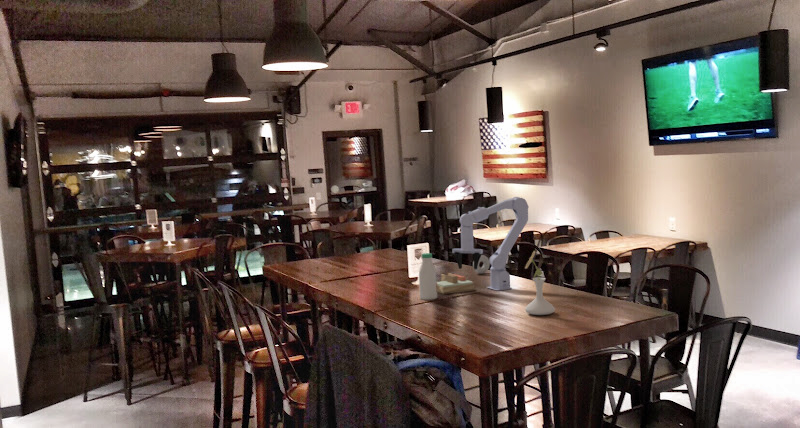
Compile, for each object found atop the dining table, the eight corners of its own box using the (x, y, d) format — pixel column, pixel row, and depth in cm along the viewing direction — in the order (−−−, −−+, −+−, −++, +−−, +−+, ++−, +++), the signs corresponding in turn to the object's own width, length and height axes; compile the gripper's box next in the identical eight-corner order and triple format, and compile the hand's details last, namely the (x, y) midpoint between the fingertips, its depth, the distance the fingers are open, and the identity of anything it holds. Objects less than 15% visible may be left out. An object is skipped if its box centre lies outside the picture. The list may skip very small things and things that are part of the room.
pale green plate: (473, 283, 316) (472, 275, 315) (443, 287, 309) (443, 278, 309) (462, 280, 325) (461, 272, 325) (433, 284, 319) (433, 275, 319)
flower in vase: (534, 309, 270) (532, 247, 268) (560, 312, 263) (558, 248, 261) (517, 316, 260) (515, 251, 258) (544, 319, 253) (542, 252, 251)
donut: (475, 275, 356) (474, 256, 355) (471, 274, 359) (471, 255, 358) (491, 273, 360) (490, 254, 359) (487, 272, 363) (487, 253, 362)
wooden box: (474, 289, 316) (474, 283, 315) (443, 294, 309) (443, 287, 309) (462, 286, 326) (462, 280, 325) (432, 290, 319) (432, 284, 319)
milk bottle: (435, 300, 296) (434, 254, 295) (418, 300, 298) (416, 255, 297) (438, 296, 304) (436, 252, 303) (421, 296, 306) (419, 252, 304)
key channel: (462, 286, 326) (461, 276, 325) (453, 287, 324) (453, 277, 323) (449, 282, 337) (448, 273, 337) (441, 283, 336) (440, 274, 335)
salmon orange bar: (465, 280, 320) (465, 276, 320) (461, 280, 319) (461, 277, 319) (455, 277, 329) (455, 274, 329) (451, 277, 328) (450, 274, 328)
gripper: (484, 239, 315) (485, 268, 316) (456, 238, 322) (457, 266, 323) (479, 240, 309) (480, 270, 310) (450, 240, 316) (451, 269, 317)
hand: (467, 268), depth 316 cm, fingers open, 7 cm apart
